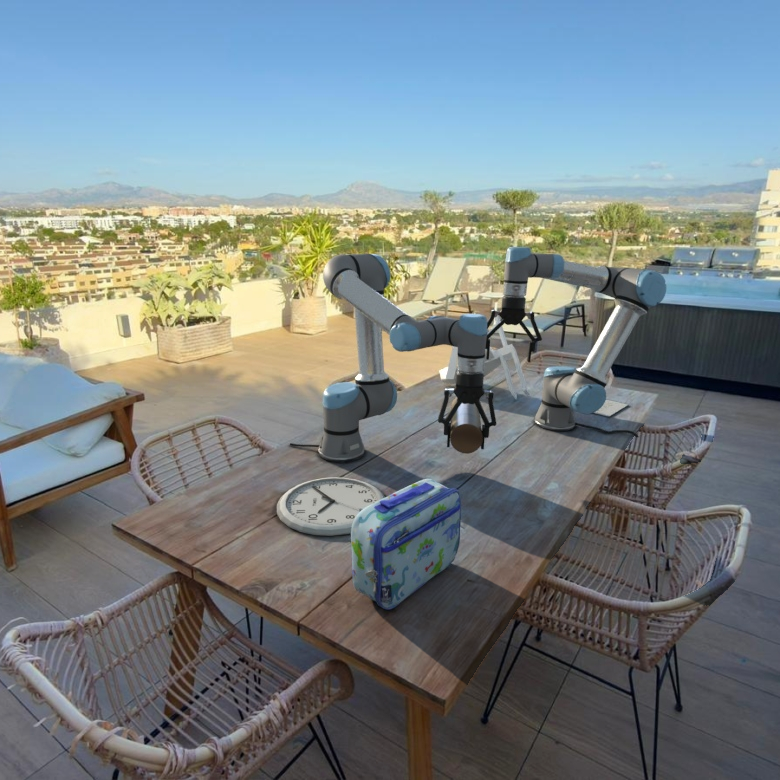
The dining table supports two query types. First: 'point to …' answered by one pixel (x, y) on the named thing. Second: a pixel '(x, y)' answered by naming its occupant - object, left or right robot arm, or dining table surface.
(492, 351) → the white plastic object
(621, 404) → the invitation card
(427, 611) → the dining table surface
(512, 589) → the dining table surface
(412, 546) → the lunch box
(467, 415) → the rod
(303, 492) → the wall clock
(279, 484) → the dining table surface
